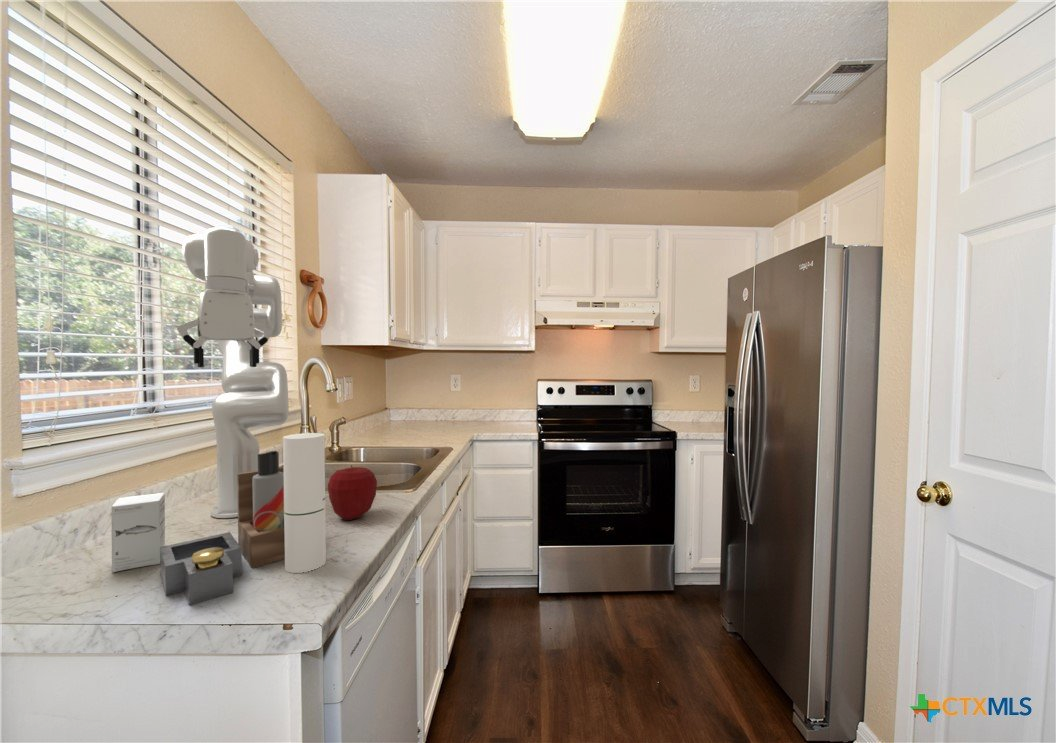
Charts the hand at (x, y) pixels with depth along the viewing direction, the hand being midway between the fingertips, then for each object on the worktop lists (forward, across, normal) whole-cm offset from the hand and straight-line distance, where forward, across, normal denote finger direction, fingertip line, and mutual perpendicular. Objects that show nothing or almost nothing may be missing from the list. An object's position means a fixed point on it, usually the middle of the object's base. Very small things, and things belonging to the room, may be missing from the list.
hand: (227, 367), depth 98 cm
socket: (+38, +7, +17) cm, 43 cm away
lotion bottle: (+38, -5, +12) cm, 40 cm away
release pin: (+37, +7, +23) cm, 44 cm away
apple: (+38, -26, +2) cm, 46 cm away
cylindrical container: (+38, -8, +23) cm, 46 cm away
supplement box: (+38, +15, -1) cm, 41 cm away
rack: (+38, -6, +12) cm, 41 cm away
